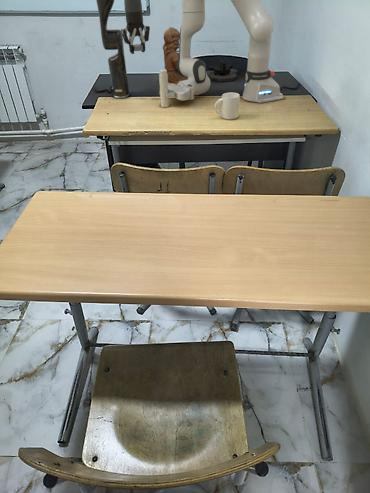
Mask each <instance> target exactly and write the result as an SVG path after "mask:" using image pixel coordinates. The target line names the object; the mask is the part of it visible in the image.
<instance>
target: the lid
mask: <svg viewBox="0 0 370 493" xmlns="http://www.w3.org/2000/svg"><path fill="white" fill-rule="evenodd" d="M133 46H134V52H142V50H143V45H142V44H141V43H136V44H133Z"/></svg>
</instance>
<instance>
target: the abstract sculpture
mask: <svg viewBox="0 0 370 493" xmlns="http://www.w3.org/2000/svg"><path fill="white" fill-rule="evenodd" d="M206 73H207V76H208V77H209V79H210V82H217V83H221V82H223V83H224V82H234V81H235V80H238V75H239V71H238V70H237V68H236V69H233V66H232V64H231V65H230V64H227V63H226V62H225V60H223V59H222V58H221V59H219V60H218V66H216V65H211V66H208V70H206Z"/></svg>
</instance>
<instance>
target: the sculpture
mask: <svg viewBox="0 0 370 493" xmlns="http://www.w3.org/2000/svg"><path fill="white" fill-rule="evenodd" d="M163 40H164V44H163V45H162V50H163V61H164V70H167V74H168V84H170V83H172V84H175V85H178V83H179V82H180V81H183V80H187V79H188V77H182V76H180V75H179V73H178V71H177V63H178V58H179V52H178V51H177V50H178V49H179V40H180V30H178V29H177V28H174V27H168V28H167V29H166V30H165V31H164V33H163ZM157 80H158V84H159V86H160V79H159V78H158V79H157Z"/></svg>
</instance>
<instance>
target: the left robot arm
mask: <svg viewBox="0 0 370 493" xmlns="http://www.w3.org/2000/svg"><path fill="white" fill-rule="evenodd" d="M123 2H124V3H123V4H124V5H123V6H124V12H125V22H126V26H125V28H121V29H108V21H109V17H110V14H111V11H112V9H113V6H114V4H115V0H96V6H97V12H98V17H99V27H100V36H101V43H102V47H103V49H104V50H106V51H116V50H117V52H116V53H115V54H113V55H111V56H109V57H108V58H107V64H108V70H109V75H110V83H111V84H110V85H109V86H108V87H109V88H104V89H101V90H99V89H98V90H97V89H96V87H95V86H94V85H92V87H91V88H92V90H93V92H95V93H102V92H108V94H110V93H112V97H113V98H114V99H125V98H128V97H130V90H129V89H130V88H129V82H128V81H129V79H128V74H127V66H126V65H127V64H126V56H125V45H124V44H126V45H128V49H129V52H130V54H131V55H135V51H134V46H133V45H134V41H135V38H136V37H138V39H139V41H140V44H142V45H143V50H142V51H141V53H145V52H146V43H147V42H149V40H150V32H151V31H150V30H151V27H150V26H149V25H145V24H144V15H143V4H142V0H123ZM143 32H144V33H143Z"/></svg>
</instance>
